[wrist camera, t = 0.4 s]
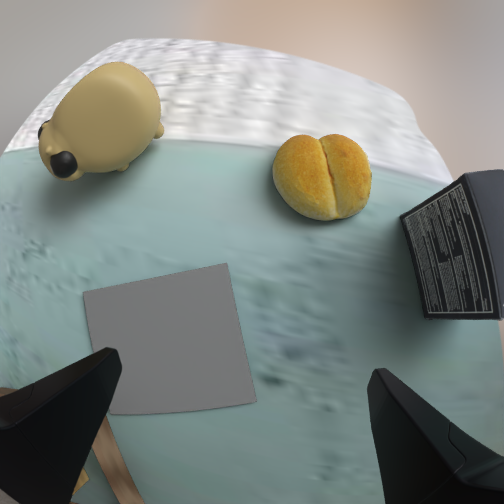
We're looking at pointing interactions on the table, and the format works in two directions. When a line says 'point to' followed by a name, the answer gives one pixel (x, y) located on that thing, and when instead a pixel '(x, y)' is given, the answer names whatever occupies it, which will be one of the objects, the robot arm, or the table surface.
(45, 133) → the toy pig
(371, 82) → the table surface
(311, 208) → the yellow rounded lump
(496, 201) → the small box
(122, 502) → the wooden picture frame
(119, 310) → the mat
